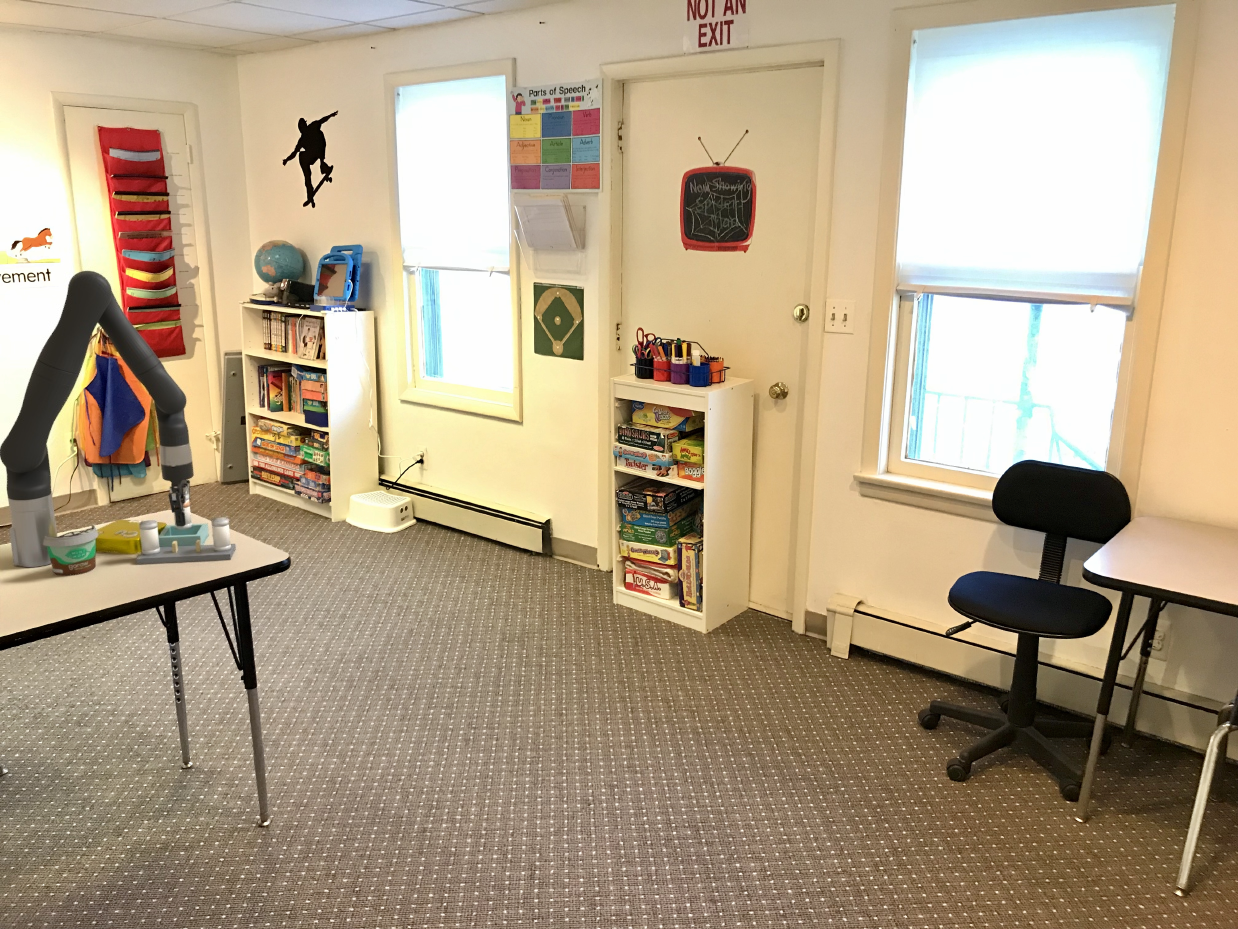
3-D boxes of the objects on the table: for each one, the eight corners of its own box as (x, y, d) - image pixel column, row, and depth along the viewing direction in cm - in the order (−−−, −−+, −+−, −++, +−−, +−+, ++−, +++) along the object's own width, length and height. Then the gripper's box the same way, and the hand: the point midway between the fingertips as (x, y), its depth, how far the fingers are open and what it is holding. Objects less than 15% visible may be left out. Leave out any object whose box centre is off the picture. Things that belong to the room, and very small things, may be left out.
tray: (158, 550, 244) (157, 537, 243) (167, 537, 254) (166, 525, 253) (201, 548, 246) (200, 535, 245) (208, 535, 256) (207, 523, 255)
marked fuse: (173, 530, 247) (170, 497, 244) (177, 525, 251) (173, 493, 248) (190, 529, 248) (186, 496, 245) (193, 524, 251) (190, 492, 249)
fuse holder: (137, 564, 234) (133, 528, 232) (145, 553, 242) (141, 518, 239) (230, 559, 239) (227, 524, 237) (235, 549, 247) (233, 514, 244)
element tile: (171, 537, 255) (169, 520, 254) (136, 556, 241) (134, 538, 240) (120, 533, 257) (118, 516, 256) (83, 551, 243) (81, 534, 242)
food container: (60, 581, 222) (55, 542, 220) (47, 576, 225) (42, 536, 223) (112, 566, 232) (107, 528, 230) (98, 561, 235) (94, 523, 233)
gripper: (167, 454, 250) (173, 515, 255) (154, 468, 237) (161, 532, 241) (197, 453, 252) (203, 514, 256) (186, 467, 238) (192, 530, 243)
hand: (182, 522), depth 249 cm, fingers closed on marked fuse, 4 cm apart
